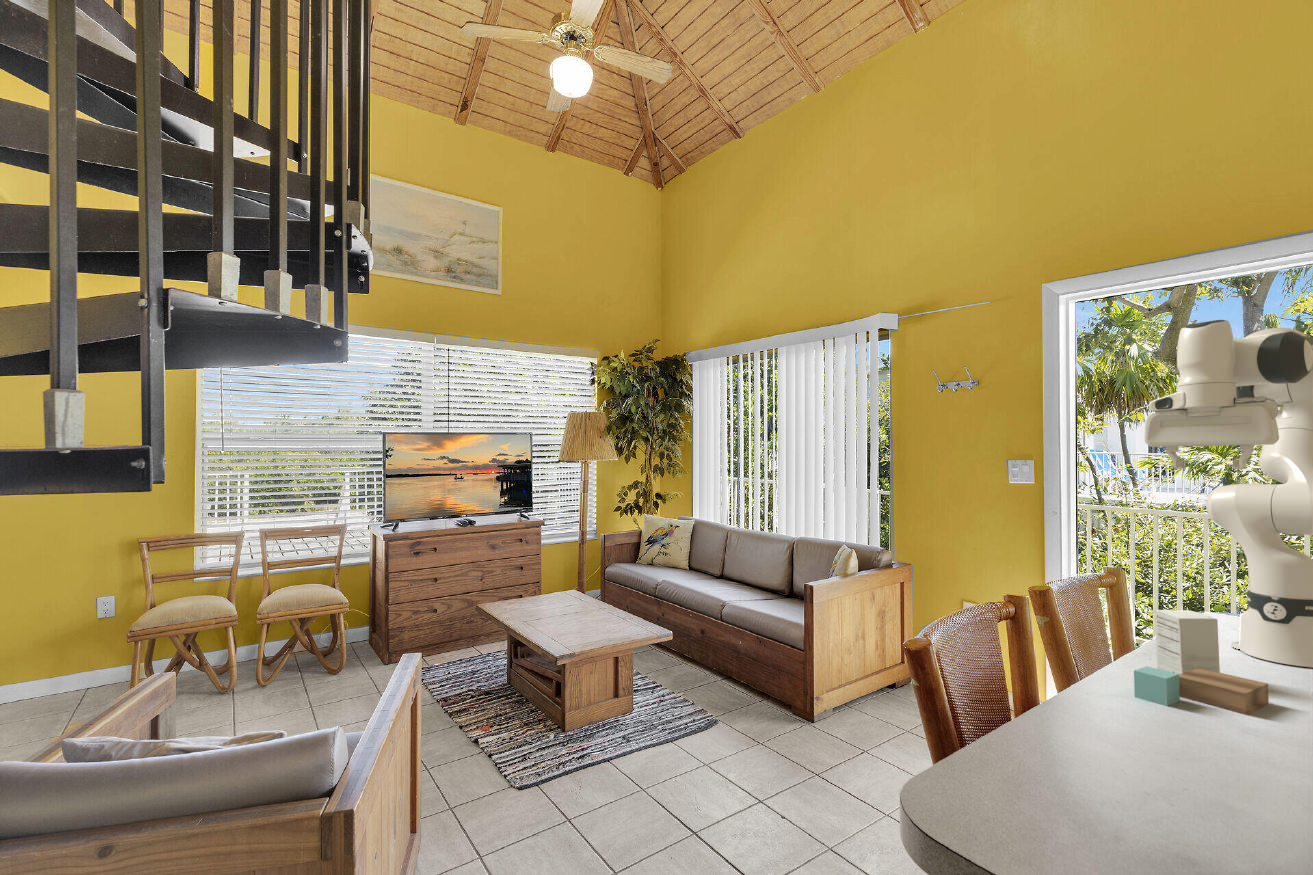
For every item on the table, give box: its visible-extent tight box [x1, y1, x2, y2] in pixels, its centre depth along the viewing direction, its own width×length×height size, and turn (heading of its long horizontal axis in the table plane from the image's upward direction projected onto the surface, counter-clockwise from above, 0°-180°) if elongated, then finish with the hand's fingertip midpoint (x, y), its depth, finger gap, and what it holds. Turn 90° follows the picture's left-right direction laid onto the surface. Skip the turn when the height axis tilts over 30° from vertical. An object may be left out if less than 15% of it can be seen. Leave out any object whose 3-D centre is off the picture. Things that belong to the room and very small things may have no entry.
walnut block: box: [1179, 668, 1270, 716], centre depth 113 cm, size 10×10×4 cm
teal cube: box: [1133, 665, 1181, 707], centre depth 114 cm, size 5×5×5 cm
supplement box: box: [1154, 609, 1221, 675], centre depth 127 cm, size 7×7×13 cm
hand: (1208, 468), depth 122 cm, fingers open, 8 cm apart
